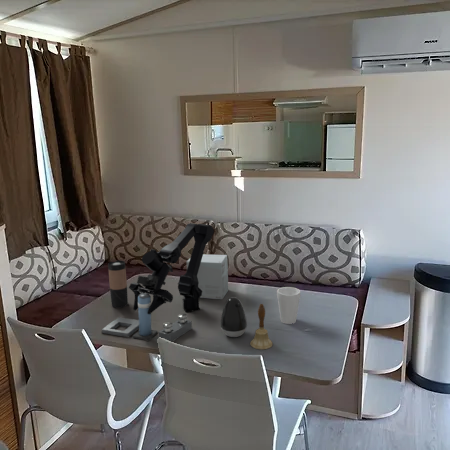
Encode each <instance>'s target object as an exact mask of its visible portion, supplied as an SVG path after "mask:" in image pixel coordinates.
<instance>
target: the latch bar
mask: <svg viewBox="0 0 450 450" xmlns="http://www.w3.org/2000/svg"><path fill="white" fill-rule="evenodd" d="M171 323H172V327H171V332H170V333H169V334H168V333H165V330H164V328H163V329H161V330H159V331H158V333H157V334H158V338H159V337H161V338H165V339H167V340H169V341H172V342H174V341H175V340H177V339H178V338H180V337H181V336H183V335H184V334H186V333H188V332H189V331H191V330H192V329H193V325H192V324H193V322H192V320H188V319H186V323H185V324H180V323H179V319H177V320H175V321H174V322H171Z"/></svg>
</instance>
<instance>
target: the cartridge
mask: <svg viewBox="0 0 450 450" xmlns="http://www.w3.org/2000/svg"><path fill="white" fill-rule="evenodd" d="M151 303H152V297H151V294H147V293H143V294H140V295H139V296H138V308H137V309H138V311H137V312H138V320H139V329H138V331H139V334H140V335H142V336H147V335H150V334H151V333H152V331H151V330H152V313H151V314H148V310H149V308H150V305H151Z"/></svg>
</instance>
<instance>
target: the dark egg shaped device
mask: <svg viewBox="0 0 450 450" xmlns="http://www.w3.org/2000/svg"><path fill="white" fill-rule="evenodd" d="M247 326H248V321H247V316H246V311H245V309H244V305H243V303H242V302H241V300H240V299H239V298H237V297H234V296H232V297H229V298H228V299H227V300H226V302H225V303H224V306H223V309H222V313H221V317H220V327H221V330H222V332H223V333H224V334H225V335H226V336H227V337H230V338H237V337H240V336H242V335H243V334H244V333H245V331H246V329H247Z"/></svg>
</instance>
